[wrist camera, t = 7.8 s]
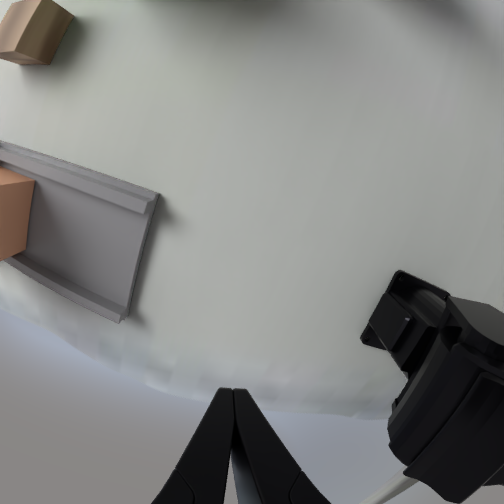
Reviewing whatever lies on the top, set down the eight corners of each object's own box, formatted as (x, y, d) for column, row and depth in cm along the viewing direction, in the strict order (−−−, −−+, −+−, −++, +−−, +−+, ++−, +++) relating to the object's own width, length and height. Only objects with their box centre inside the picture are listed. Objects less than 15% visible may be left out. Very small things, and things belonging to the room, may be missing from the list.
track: (159, 193, 18) (137, 198, 15) (127, 315, 21) (108, 340, 17) (-9, 137, 17) (-35, 137, 13) (-21, 233, 19) (-45, 242, 16)
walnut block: (74, 16, 14) (44, -5, 9) (50, 64, 15) (14, 50, 11) (41, 19, 14) (11, 3, 9) (19, 64, 15) (-15, 54, 10)
